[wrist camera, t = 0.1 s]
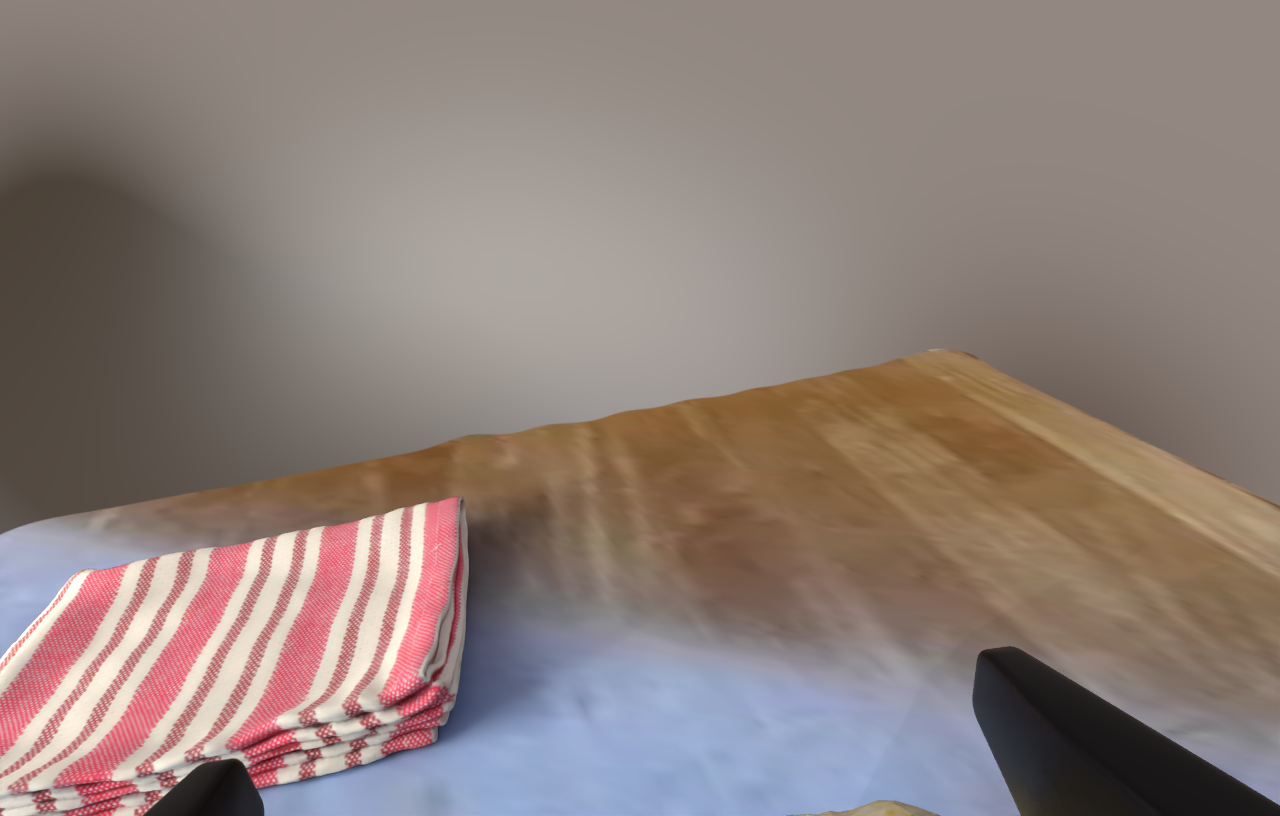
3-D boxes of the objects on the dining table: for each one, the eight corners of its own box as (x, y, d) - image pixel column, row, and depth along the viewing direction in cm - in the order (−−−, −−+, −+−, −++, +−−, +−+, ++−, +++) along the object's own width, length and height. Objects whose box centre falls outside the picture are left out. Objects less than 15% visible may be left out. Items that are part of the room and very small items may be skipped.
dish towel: (467, 744, 28) (448, 682, 27) (-176, 901, 25) (-237, 840, 23) (474, 522, 43) (463, 475, 42) (78, 601, 40) (50, 553, 39)
